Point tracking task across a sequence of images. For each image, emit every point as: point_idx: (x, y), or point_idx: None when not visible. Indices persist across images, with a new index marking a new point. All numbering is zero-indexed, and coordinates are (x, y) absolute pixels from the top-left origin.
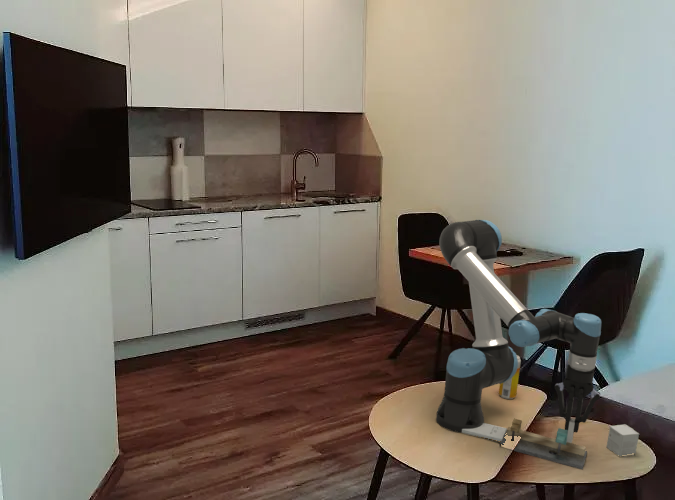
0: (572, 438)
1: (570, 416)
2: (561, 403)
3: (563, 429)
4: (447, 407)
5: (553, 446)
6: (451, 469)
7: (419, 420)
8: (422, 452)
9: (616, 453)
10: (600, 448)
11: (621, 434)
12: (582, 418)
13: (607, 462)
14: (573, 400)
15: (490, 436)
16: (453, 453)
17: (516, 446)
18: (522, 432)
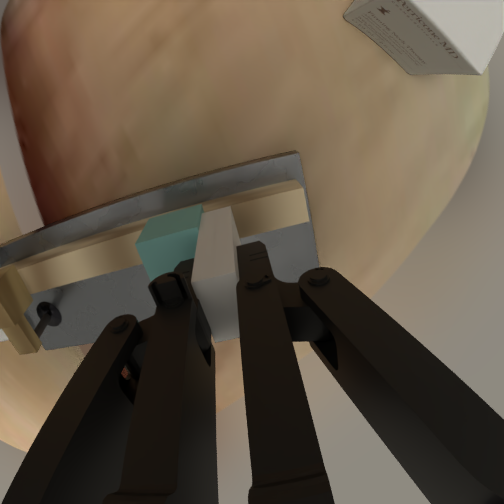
0: (239, 243)
1: (214, 369)
2: (117, 465)
3: (165, 238)
4: None
5: None
6: None
7: None
8: (24, 434)
9: (398, 60)
10: (325, 43)
11: (472, 66)
12: (318, 353)
13: (385, 156)
14: (186, 460)
15: (8, 339)
16: (41, 418)
17: (78, 333)
18: (34, 284)
